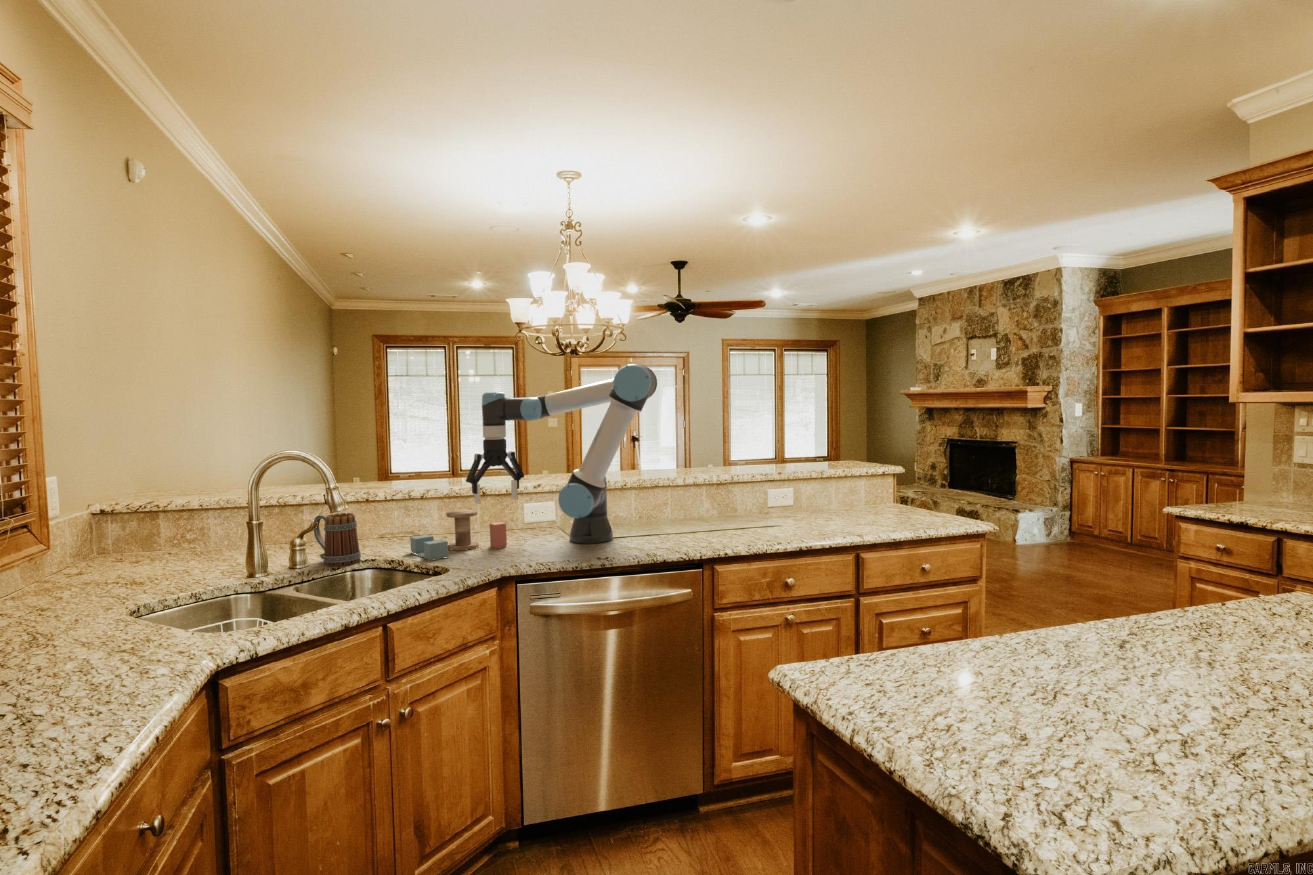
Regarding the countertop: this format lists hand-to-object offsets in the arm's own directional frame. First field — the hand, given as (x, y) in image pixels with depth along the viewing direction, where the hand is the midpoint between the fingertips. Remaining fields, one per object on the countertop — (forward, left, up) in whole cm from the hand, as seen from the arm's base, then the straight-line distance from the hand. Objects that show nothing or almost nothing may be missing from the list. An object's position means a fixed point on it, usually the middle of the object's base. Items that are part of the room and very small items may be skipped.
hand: (496, 501), depth 228 cm
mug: (+17, +47, -16) cm, 52 cm away
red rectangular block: (0, 0, -16) cm, 16 cm away
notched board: (+5, +22, -16) cm, 27 cm away
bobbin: (+8, +9, -16) cm, 20 cm away
